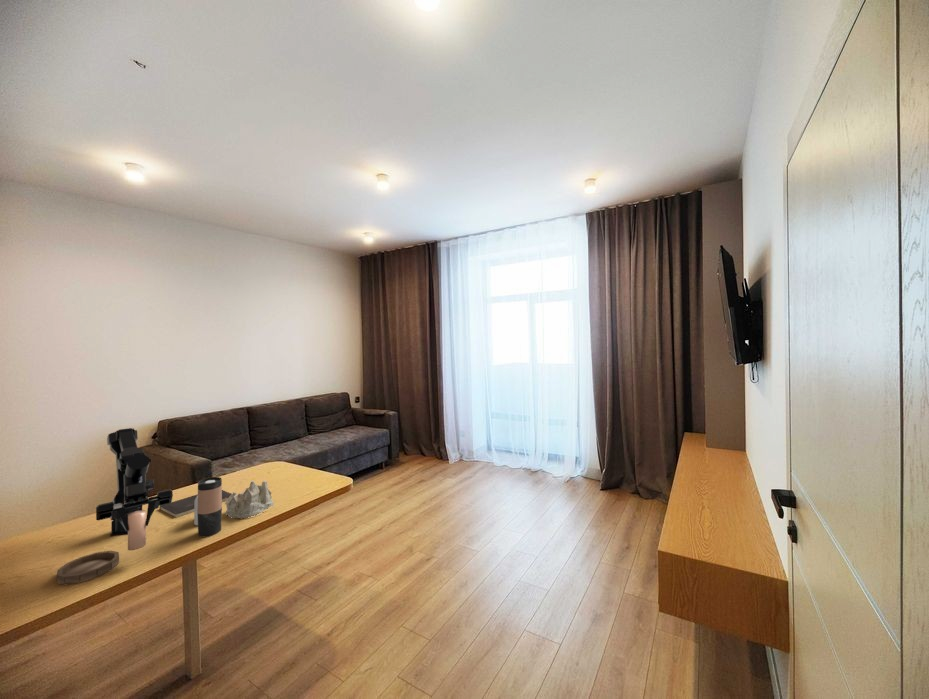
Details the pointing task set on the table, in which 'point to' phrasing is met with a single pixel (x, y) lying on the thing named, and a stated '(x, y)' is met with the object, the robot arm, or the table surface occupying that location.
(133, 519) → the candle
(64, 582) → the tray
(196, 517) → the photo printer
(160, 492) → the robot arm
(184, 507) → the hardcover book
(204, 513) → the travel mug
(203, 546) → the table surface
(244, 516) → the ceramic cottage
